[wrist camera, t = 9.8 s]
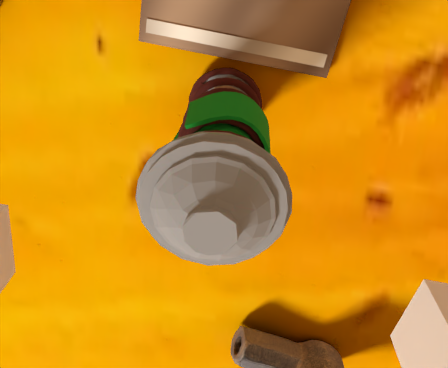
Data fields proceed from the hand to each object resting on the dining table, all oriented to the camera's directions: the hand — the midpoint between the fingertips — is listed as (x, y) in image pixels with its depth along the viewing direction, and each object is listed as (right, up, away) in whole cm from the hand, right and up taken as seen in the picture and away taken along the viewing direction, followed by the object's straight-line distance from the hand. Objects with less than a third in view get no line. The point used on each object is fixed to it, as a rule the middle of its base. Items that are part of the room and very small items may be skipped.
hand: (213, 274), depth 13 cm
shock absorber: (0, +9, +15) cm, 17 cm away
